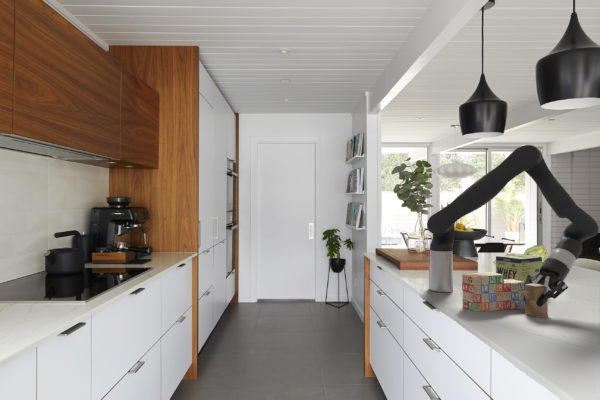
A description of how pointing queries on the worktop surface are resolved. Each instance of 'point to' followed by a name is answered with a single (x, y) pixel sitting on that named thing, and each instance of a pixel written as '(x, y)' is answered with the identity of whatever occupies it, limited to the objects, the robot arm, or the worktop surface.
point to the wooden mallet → (534, 301)
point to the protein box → (518, 266)
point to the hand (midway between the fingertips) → (532, 303)
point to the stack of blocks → (491, 292)
